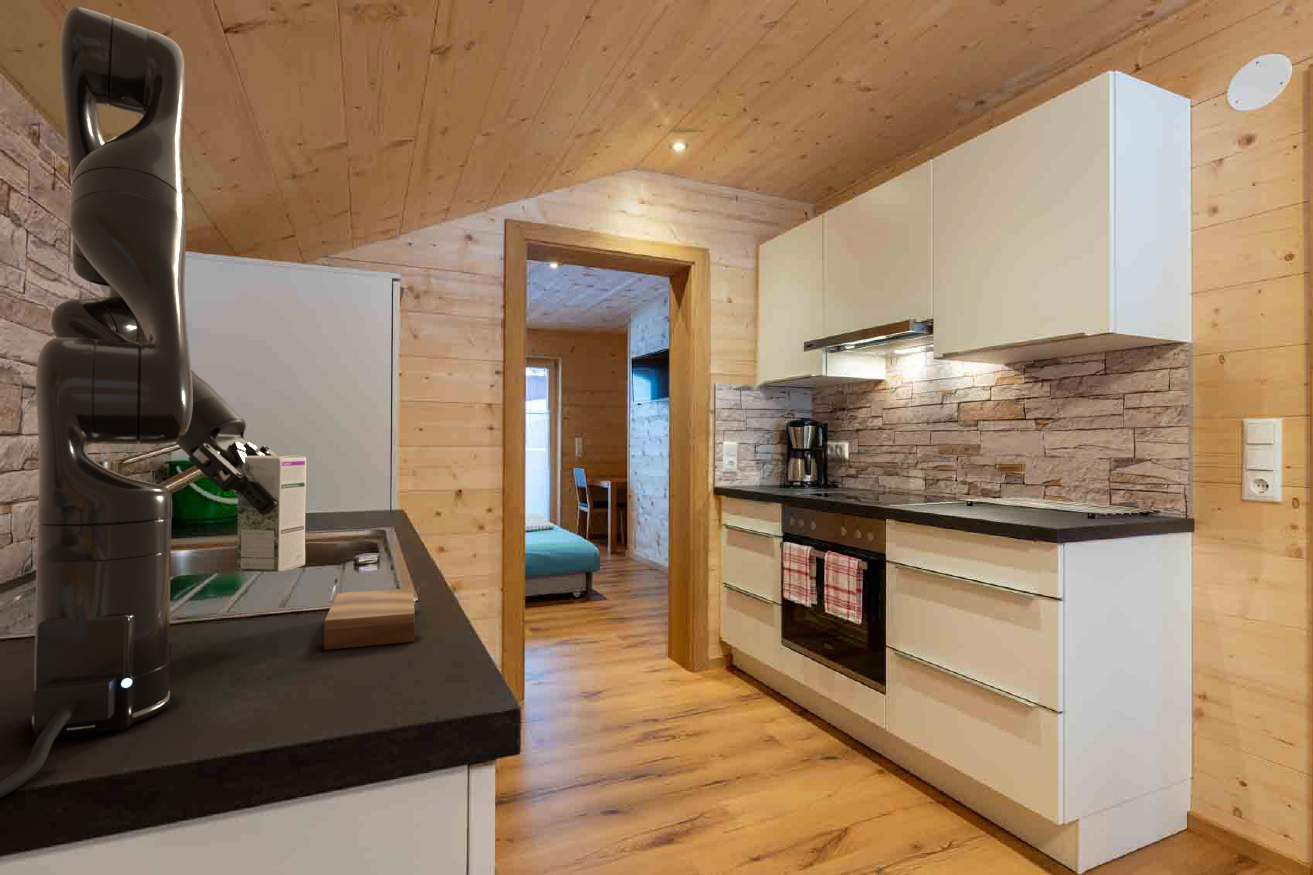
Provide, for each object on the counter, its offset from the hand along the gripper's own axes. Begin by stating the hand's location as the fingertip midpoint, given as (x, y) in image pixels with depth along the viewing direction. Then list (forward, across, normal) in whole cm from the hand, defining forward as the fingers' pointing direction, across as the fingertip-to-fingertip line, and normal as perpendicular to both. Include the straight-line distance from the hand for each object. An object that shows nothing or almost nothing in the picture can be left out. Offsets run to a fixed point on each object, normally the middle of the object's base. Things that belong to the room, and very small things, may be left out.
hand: (285, 507), depth 86 cm
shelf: (+19, +2, +4) cm, 19 cm away
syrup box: (+5, 0, +7) cm, 8 cm away
